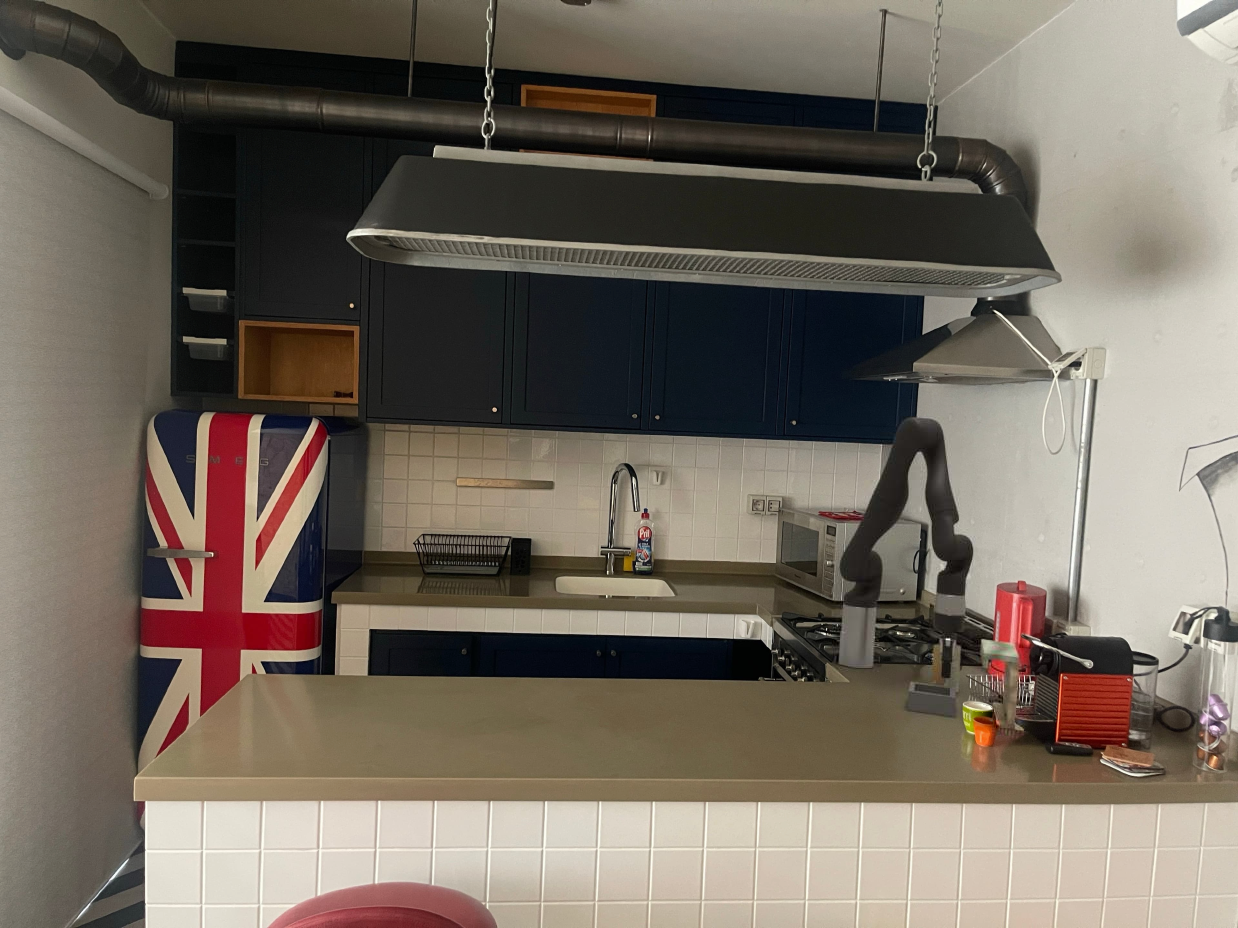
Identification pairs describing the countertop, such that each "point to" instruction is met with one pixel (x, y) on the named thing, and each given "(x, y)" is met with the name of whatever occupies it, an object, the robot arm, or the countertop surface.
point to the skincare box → (937, 668)
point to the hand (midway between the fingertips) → (945, 674)
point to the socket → (932, 699)
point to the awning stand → (1011, 658)
